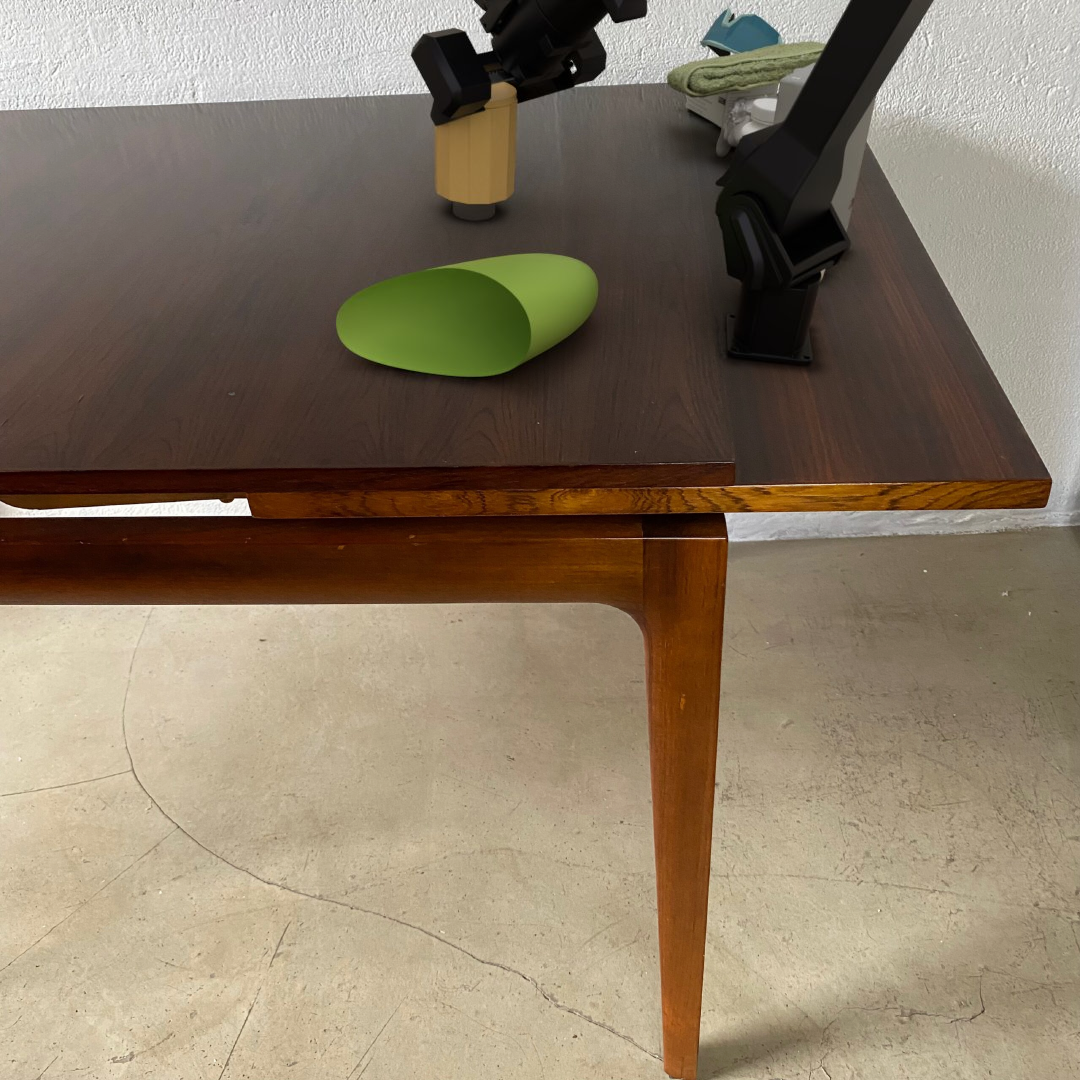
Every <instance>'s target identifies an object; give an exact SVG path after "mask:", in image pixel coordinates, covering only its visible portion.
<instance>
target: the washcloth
mask: <svg viewBox="0 0 1080 1080" xmlns="http://www.w3.org/2000/svg"><path fill="white" fill-rule="evenodd" d="M826 44H827V42H826V43H822V42H820V41H814V40H810V41H805V40H804V41H800V42H791V43H783V44H779V45H772V46H767V47H764V48H759V49H756V50H753V51H748V52H747V51H746V52H743V53H740V54H731V55H729V56H724V57H719V56H715V57H710V58H704V59H701V60H700V59H699V60H693V61H688V62H687V63H684V64H681V65H680V66H677V67H675V68H673V69H671V70H670V72H669V73H668V74H667V75H666V81H667V84H668V85H669V88H671V89H673V90H676V91H677V92H678V93H681V94H683V95H685V96H686V97H687V96H690V97H693V98H697V97H700V98H703V97H707V96H712V95H719V94H723V93H728V92H731V91H745V90H747V89H749V88H755V87H760V86H763V85H772V84H775V83H779V84H780V80H781V79H782V78H784V77H786V76H788V75H790V74H792V73H794V69H797V68H804V67H806V66H808V65H810V64H812V63H816V62H817V60H818V58H819V56H820V55H821V53H822V51H823V49H824V47H825V45H826Z"/></svg>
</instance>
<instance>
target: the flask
mask: <svg viewBox="0 0 1080 1080" xmlns="http://www.w3.org/2000/svg"><path fill="white" fill-rule="evenodd" d="M452 213H453V215H454V216H455V217H457V218H459V219H461V220H466V221H471V222H472V221H474V222H475V221H485V220H489V219H492V218H493V217H494V216H495V214H496V202H495V203H491V204H465V203H460V202H456V201H452Z"/></svg>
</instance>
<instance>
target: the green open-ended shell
mask: <svg viewBox="0 0 1080 1080" xmlns="http://www.w3.org/2000/svg"><path fill="white" fill-rule="evenodd" d="M598 297H599V282H598V278H597V276H596V273H595V272H594V270H593V269H592V267H590V266H589V265H588V264H587V263H585V262H583V261H582V260H579V259H577V258H574V257H570V256H566V255H561V254H553V253H540V252H539V253H537V252H535V253H534V252H533V253H518V254H508V255H500V256H494V257H493V256H492V257H486V258H481V259H474V260H469V261H463V262H459V263H453V264H448V265H447V264H446V265H443V266H438V267H433V268H428V269H424V270H419V271H414V272H410V273H409V272H408V273H404V274H401V275H397V276H394V277H391V278H388V279H385V280H382V281H380V282H377V283H373V284H372V285H369V286H367V287H365V288H363V289H361V290H360V291H357V292H356V293H354V294H353V295H352V296H350V297H349V298H347V300H346V301H344V303H343V304H342V305H341V306H340V308H339V310H338V311H337V315H336V320H335V325H336V328H335V329H336V332H337V335H338V339H339V340H340V341H341V343H343V345H344V346H345V347H346V348H347V349H348V350H349V351H351V352H352V353H354V354H356V355H358V356H360V357H361V358H364V359H367V360H369V361H372V362H375V363H379V364H381V365H386V366H389V367H393V368H398V369H403V370H406V371H407V370H408V371H414V372H420V373H427V374H434V375H442V376H451V377H452V376H453V377H464V378H465V377H466V378H467V377H468V378H473V377H475V378H476V377H489V376H490V377H491V376H495V375H501V374H503V373H506V372H509V371H511V370H513V369H515V368H517V367H519V366H520V365H522V364H524V363H526V362H528V361H530V360H532V359H533V358H535V357H538V355H540V354H542V353H544V352H546V351H547V350H550V349H551V348H552V347H554V346H556V345H558V344H559V343H561V342H562V341H564V340H565V339H567V338H568V337H569V336H571V335H572V334H573V333H574V332H576V330H578V329H579V328H580V327H582V325H583V324H584V323H585V322H586V321H587V320H588V318H589V317H590V316H591V314H592V312H593V311H594V309H595V307H596V305H597V301H598Z"/></svg>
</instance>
